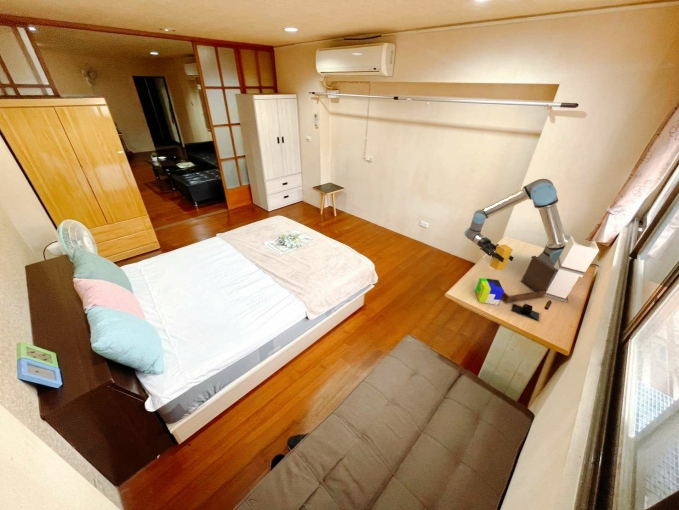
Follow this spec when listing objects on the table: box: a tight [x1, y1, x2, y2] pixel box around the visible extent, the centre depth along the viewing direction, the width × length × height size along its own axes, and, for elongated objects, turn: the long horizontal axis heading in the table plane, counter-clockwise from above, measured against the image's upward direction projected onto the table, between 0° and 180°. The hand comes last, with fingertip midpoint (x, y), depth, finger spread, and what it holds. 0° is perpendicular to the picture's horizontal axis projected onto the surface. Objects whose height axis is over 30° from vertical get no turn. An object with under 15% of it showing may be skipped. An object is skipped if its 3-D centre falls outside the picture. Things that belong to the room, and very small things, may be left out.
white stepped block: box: [544, 235, 600, 303], centre depth 149 cm, size 11×11×35 cm
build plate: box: [511, 303, 540, 322], centre depth 143 cm, size 12×7×5 cm, turn 54°
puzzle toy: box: [474, 277, 505, 306], centre depth 151 cm, size 10×10×10 cm
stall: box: [500, 255, 559, 304], centre depth 154 cm, size 27×16×19 cm, turn 103°
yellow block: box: [489, 244, 514, 271], centre depth 166 cm, size 6×6×15 cm
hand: (507, 259), depth 161 cm, fingers closed on yellow block, 6 cm apart
